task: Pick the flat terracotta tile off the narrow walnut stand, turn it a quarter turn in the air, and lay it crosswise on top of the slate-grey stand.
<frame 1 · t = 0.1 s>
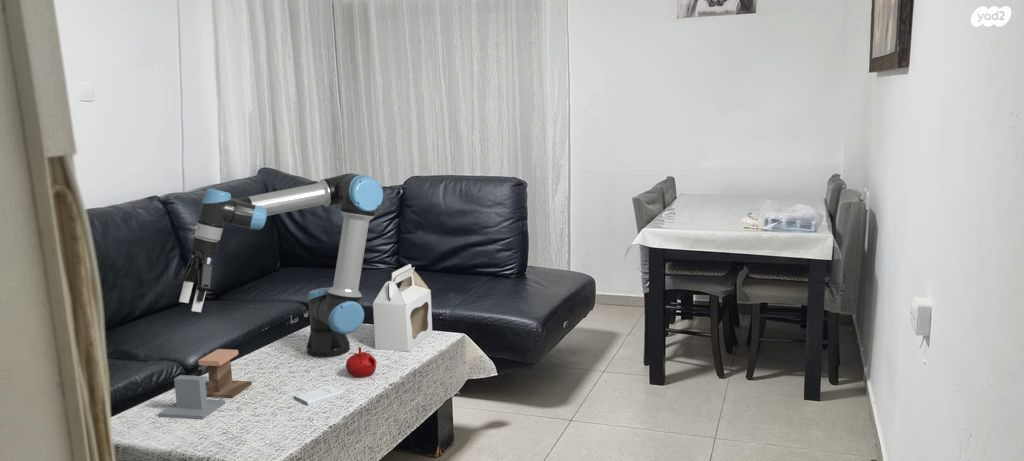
hand: (189, 306, 242), 28 cm above the table, tool tilted 20°, fingers open, 13 cm apart
gable box: (404, 342, 294), on the table
slate stand: (192, 409, 233), on the table
pomegranate: (361, 375, 260), on the table
walnut stand: (221, 390, 249), on the table
terracotta tile: (219, 359, 247), point 10 cm above the table, touching walnut stand
external hard drive: (319, 398, 242), on the table
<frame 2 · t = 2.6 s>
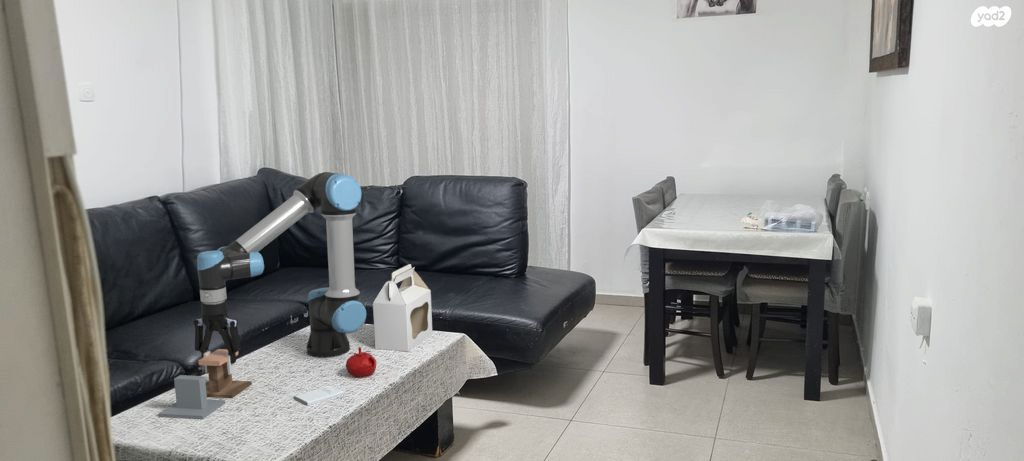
hand: (220, 372, 248), 6 cm above the table, tool pointing down, fingers closed on terracotta tile, 7 cm apart
terracotta tile: (219, 359, 247), point 10 cm above the table, touching gripper, walnut stand
everything else where it was.
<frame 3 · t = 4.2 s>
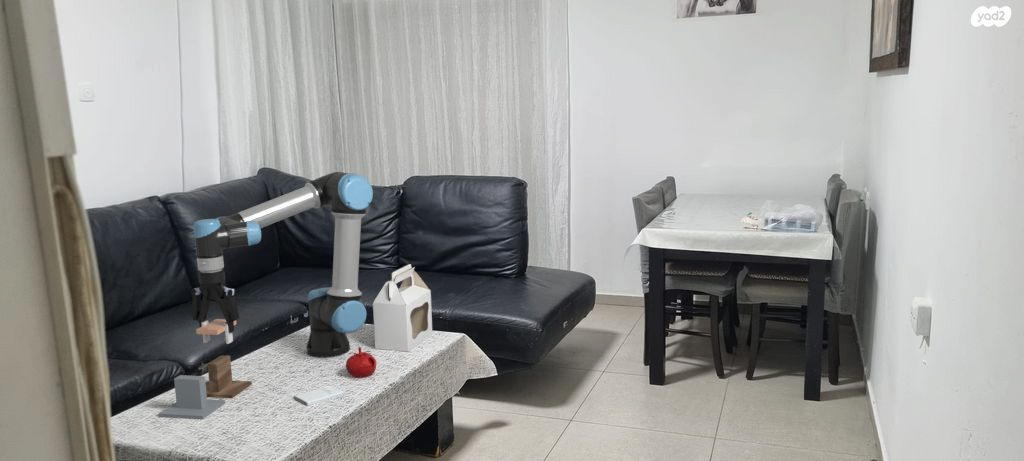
hand: (218, 342, 246), 16 cm above the table, tool pointing down, fingers closed on terracotta tile, 7 cm apart
terracotta tile: (216, 329, 246), point 20 cm above the table, touching gripper
everything else where it was.
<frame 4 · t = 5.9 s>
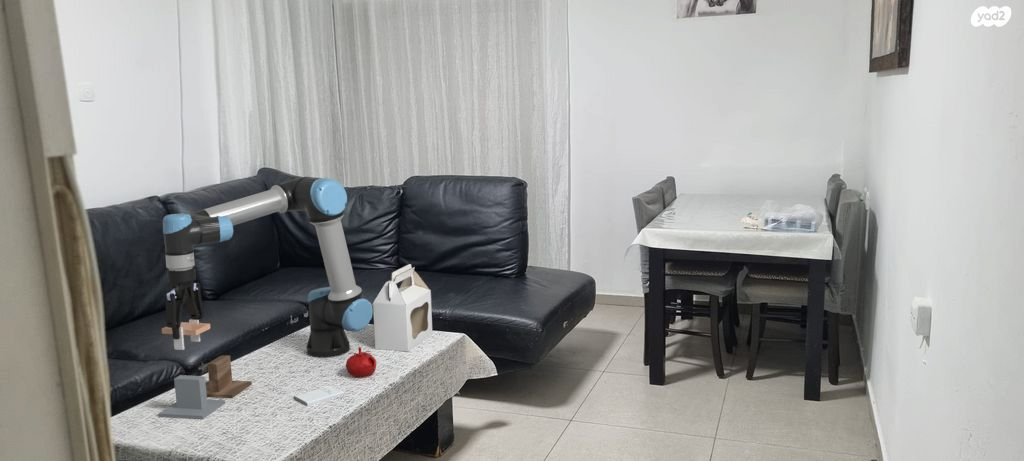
hand: (187, 345, 231), 20 cm above the table, tool pointing down, fingers closed on terracotta tile, 7 cm apart
terracotta tile: (186, 331, 230), point 24 cm above the table, touching gripper
everything else where it was.
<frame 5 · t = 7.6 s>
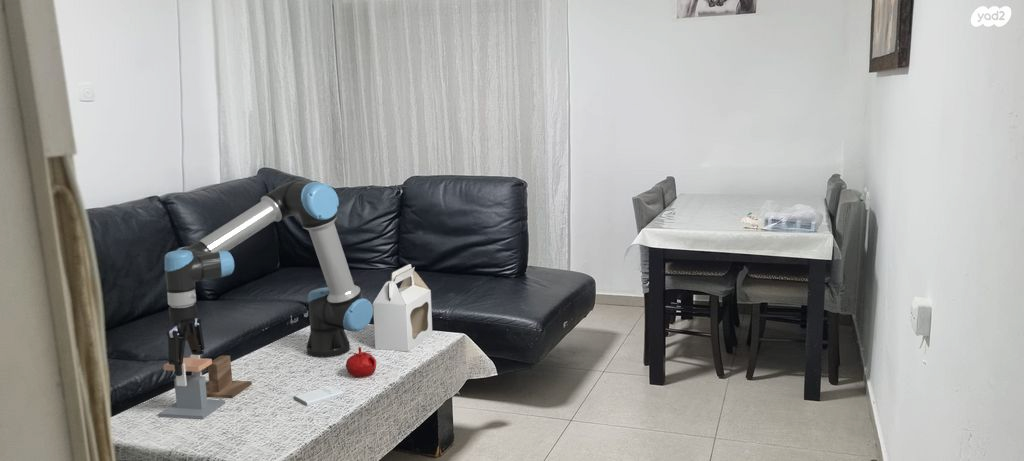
hand: (189, 380, 232), 9 cm above the table, tool pointing down, fingers closed on terracotta tile, 7 cm apart
terracotta tile: (188, 366, 231), point 13 cm above the table, touching gripper
everything else where it was.
when the fingers open (7 cm above the table, at t = 8.8 s): terracotta tile drops 1 cm, resting on slate stand.
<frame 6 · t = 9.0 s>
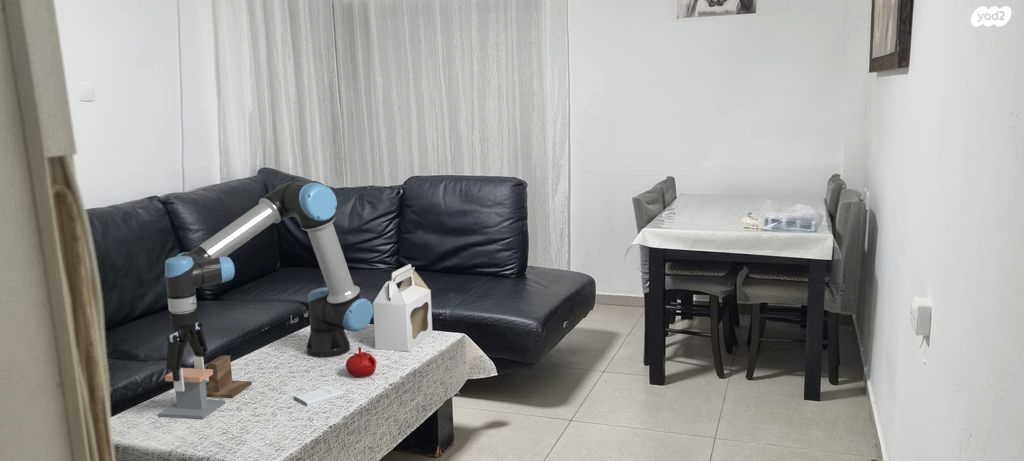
hand: (190, 384, 232), 8 cm above the table, tool pointing down, fingers open, 10 cm apart
terracotta tile: (189, 377, 232), point 10 cm above the table, touching slate stand
everything else where it was.
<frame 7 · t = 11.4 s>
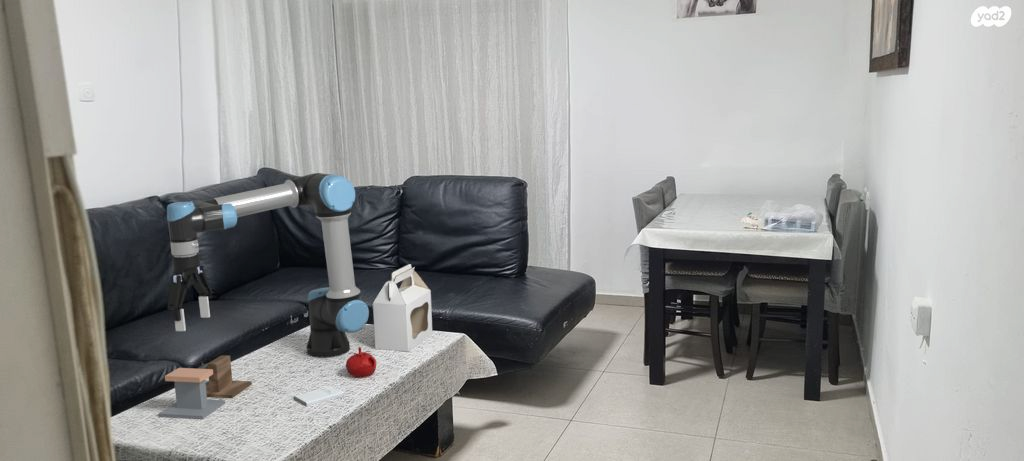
hand: (193, 323, 238), 24 cm above the table, tool pointing down, fingers open, 13 cm apart
nothing on the table moved.
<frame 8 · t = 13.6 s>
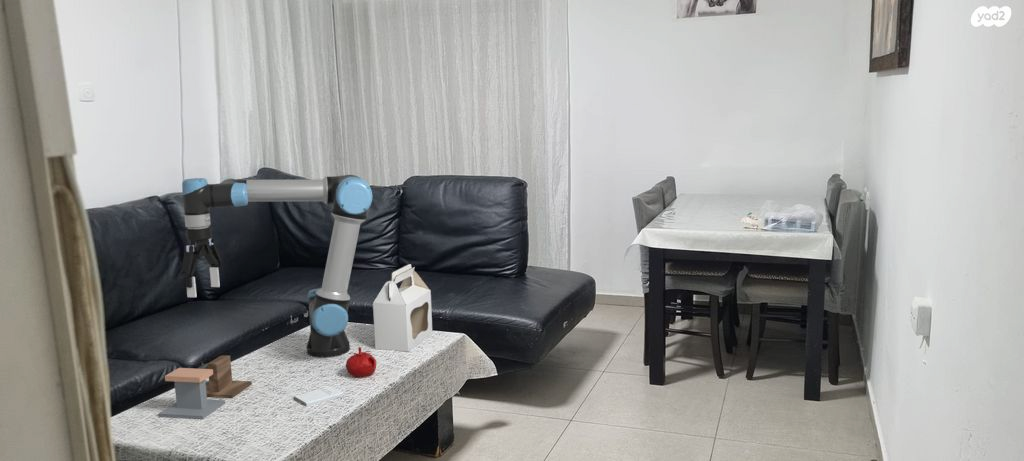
hand: (204, 291, 256), 29 cm above the table, tool pointing down, fingers open, 13 cm apart
nothing on the table moved.
at the end: terracotta tile 0.0 cm off-centre on the slate stand, point 10.0 cm above the slate stand's base; terracotta tile tilted 0°; the gripper is holding nothing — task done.
